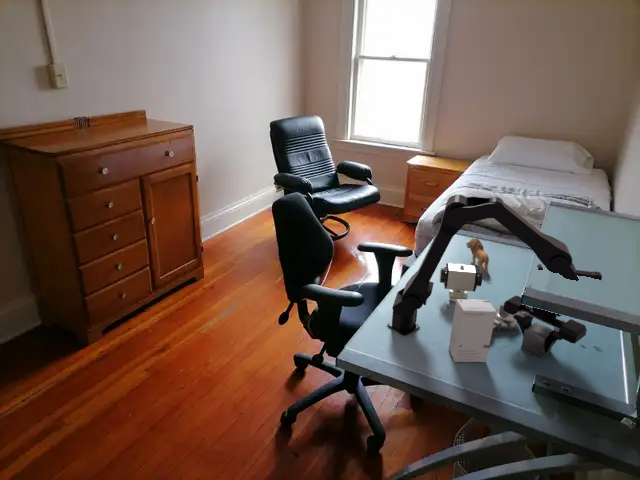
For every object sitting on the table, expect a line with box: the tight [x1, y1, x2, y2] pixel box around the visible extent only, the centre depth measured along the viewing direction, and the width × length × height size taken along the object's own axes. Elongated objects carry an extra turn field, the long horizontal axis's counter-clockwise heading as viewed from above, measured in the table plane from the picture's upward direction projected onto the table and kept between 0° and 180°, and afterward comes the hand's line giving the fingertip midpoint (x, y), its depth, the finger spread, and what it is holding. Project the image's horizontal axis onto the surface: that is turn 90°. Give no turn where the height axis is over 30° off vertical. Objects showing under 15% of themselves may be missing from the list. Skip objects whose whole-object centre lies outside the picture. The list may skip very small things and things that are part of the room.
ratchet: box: [491, 302, 519, 338], centre depth 126 cm, size 19×8×6 cm, turn 128°
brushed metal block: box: [520, 321, 554, 360], centre depth 119 cm, size 5×5×6 cm
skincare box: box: [448, 298, 496, 363], centre depth 115 cm, size 8×6×15 cm
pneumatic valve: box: [439, 263, 483, 303], centre depth 140 cm, size 6×12×12 cm, turn 78°
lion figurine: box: [465, 237, 491, 277], centre depth 160 cm, size 15×5×9 cm, turn 10°
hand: (536, 346), depth 119 cm, fingers closed on brushed metal block, 5 cm apart
